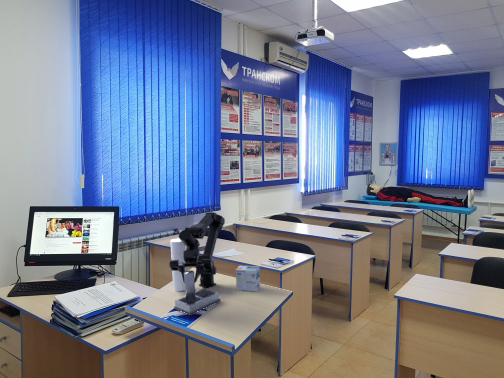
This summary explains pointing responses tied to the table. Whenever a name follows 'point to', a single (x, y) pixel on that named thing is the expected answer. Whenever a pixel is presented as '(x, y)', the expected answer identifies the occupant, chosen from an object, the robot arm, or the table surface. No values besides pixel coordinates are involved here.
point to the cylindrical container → (177, 254)
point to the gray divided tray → (197, 301)
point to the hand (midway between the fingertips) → (189, 282)
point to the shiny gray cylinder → (189, 285)
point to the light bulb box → (248, 278)
